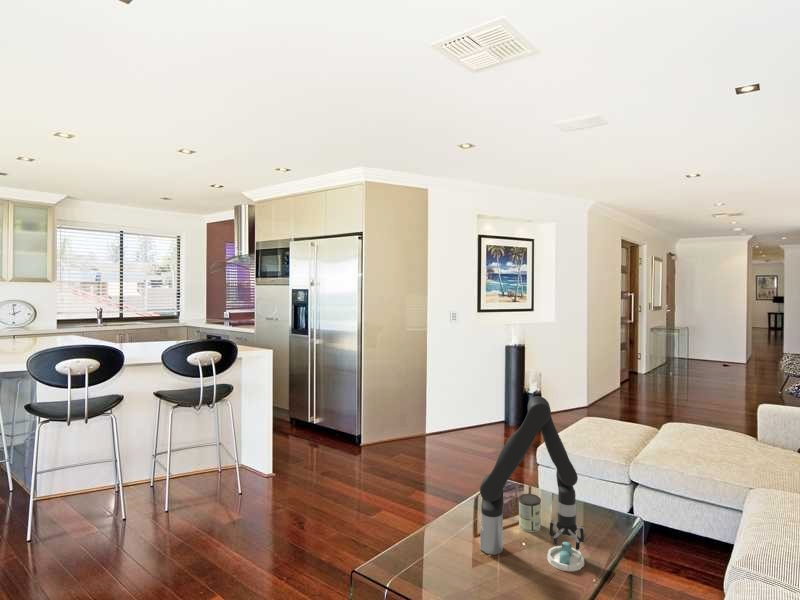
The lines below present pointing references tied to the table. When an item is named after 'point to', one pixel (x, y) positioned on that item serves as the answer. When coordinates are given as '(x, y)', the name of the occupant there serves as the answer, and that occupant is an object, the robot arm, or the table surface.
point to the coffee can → (529, 512)
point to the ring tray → (574, 565)
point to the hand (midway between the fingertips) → (566, 547)
